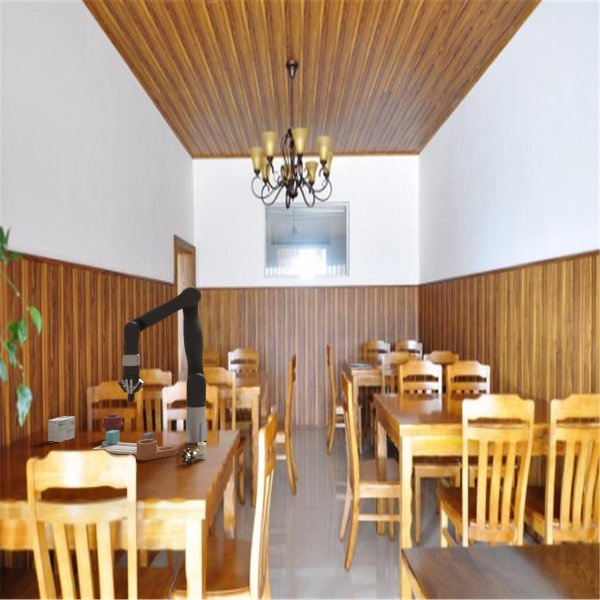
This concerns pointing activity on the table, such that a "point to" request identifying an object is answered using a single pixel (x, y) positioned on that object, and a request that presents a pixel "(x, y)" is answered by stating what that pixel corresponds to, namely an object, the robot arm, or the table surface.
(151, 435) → the fixed leg
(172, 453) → the bracket
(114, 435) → the sliding leg
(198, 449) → the valve
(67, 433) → the light bulb box
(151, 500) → the table surface
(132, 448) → the gauge board
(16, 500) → the table surface
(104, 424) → the mechanical component
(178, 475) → the table surface
